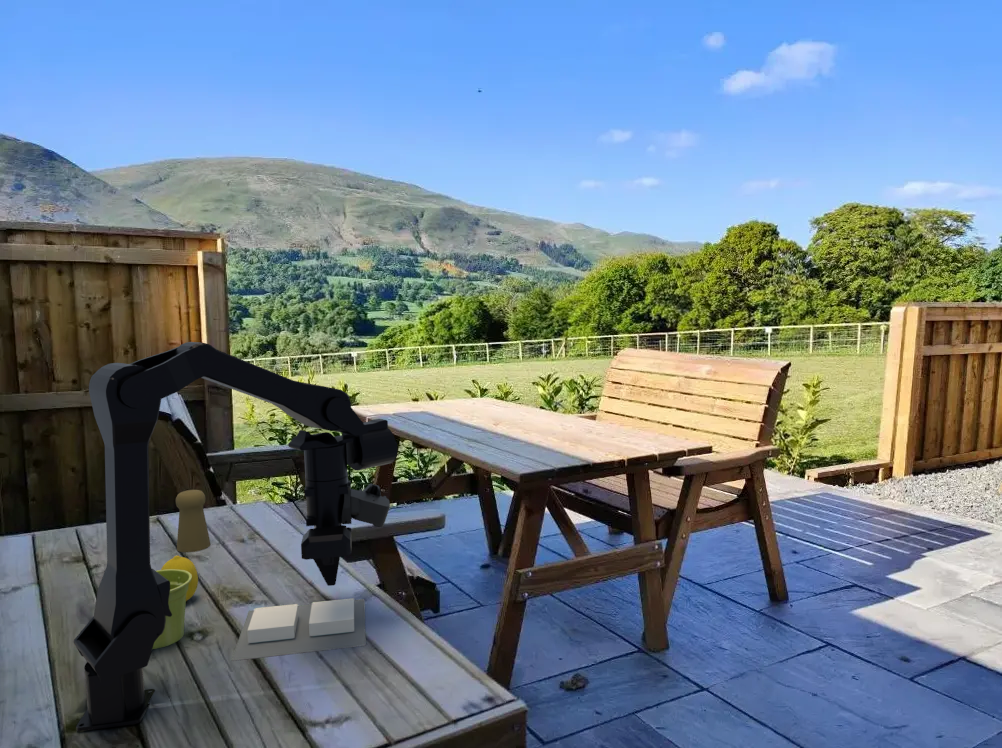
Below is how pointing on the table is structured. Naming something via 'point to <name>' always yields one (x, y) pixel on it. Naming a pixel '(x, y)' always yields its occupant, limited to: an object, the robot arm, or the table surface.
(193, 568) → the lemon
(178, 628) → the plant pot
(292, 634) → the tile
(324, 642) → the slate mat
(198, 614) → the table surface
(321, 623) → the tile
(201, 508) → the cork
